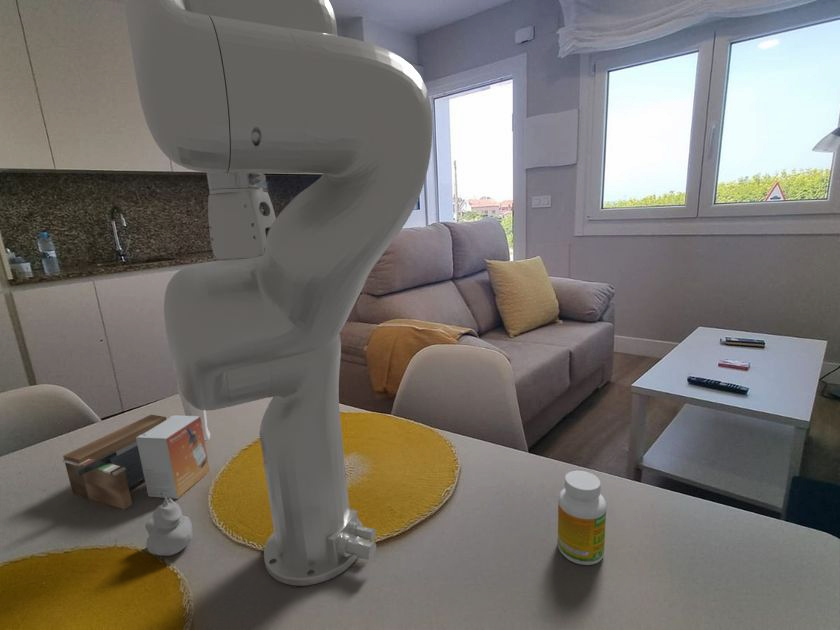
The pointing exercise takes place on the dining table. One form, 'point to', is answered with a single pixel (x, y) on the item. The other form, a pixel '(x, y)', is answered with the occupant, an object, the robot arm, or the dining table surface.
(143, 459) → the small box
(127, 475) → the pad
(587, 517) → the supplement bottle
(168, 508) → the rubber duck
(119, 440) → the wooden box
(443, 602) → the dining table surface
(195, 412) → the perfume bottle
